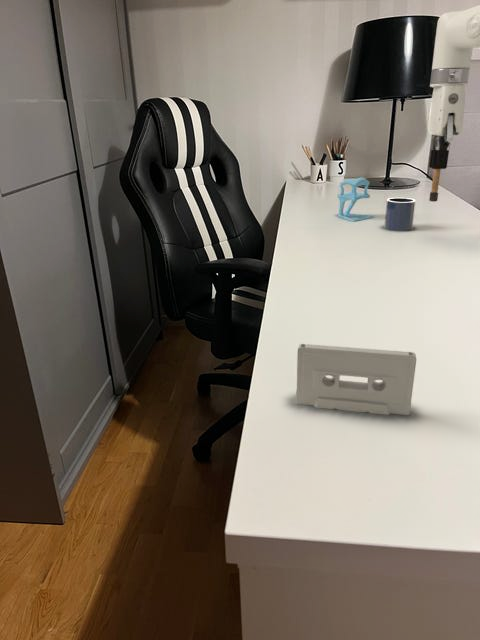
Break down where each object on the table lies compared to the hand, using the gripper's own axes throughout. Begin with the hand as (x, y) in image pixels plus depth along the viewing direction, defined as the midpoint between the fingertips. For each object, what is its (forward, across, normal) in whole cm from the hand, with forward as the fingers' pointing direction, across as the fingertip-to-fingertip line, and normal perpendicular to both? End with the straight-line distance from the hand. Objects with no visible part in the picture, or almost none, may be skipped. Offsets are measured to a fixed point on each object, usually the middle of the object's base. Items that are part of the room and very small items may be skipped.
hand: (437, 167), depth 114 cm
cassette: (+17, -75, +28) cm, 82 cm away
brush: (+8, 0, 0) cm, 8 cm away
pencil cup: (+17, +11, +5) cm, 21 cm away
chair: (+18, +26, +15) cm, 35 cm away
